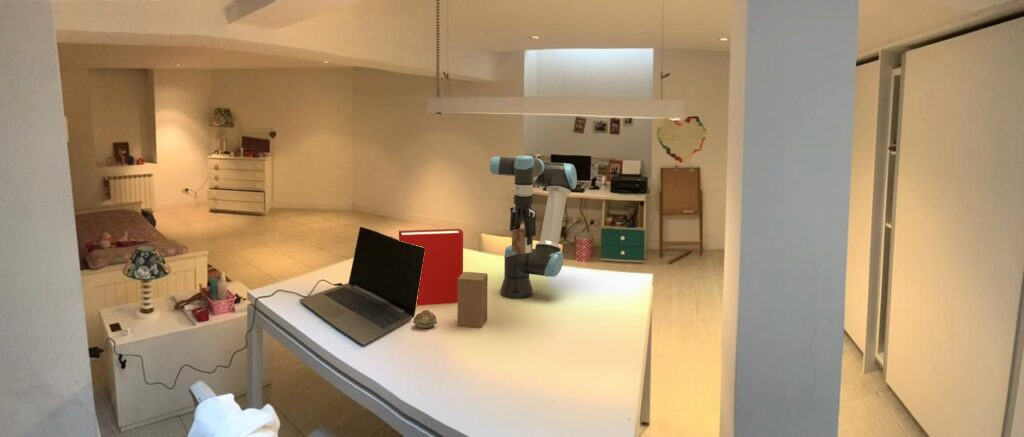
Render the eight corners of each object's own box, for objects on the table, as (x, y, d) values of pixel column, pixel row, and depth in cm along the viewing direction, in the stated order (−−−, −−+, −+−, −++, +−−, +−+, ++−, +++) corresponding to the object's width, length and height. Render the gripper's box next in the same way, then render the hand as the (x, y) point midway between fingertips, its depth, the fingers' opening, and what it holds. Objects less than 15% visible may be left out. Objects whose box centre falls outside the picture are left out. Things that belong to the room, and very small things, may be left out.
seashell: (437, 331, 246) (435, 322, 254) (438, 314, 244) (435, 306, 252) (414, 332, 244) (411, 323, 251) (414, 315, 242) (412, 307, 249)
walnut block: (511, 251, 255) (512, 229, 253) (522, 249, 259) (523, 228, 257) (521, 254, 250) (521, 232, 249) (532, 252, 254) (533, 230, 252)
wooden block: (481, 328, 248) (481, 280, 244) (457, 326, 250) (457, 278, 246) (487, 319, 258) (487, 273, 254) (463, 317, 260) (464, 271, 256)
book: (401, 306, 271) (400, 234, 265) (400, 300, 279) (398, 230, 273) (463, 302, 278) (463, 232, 272) (460, 296, 286) (460, 228, 279)
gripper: (501, 192, 255) (500, 247, 259) (532, 198, 240) (530, 257, 245) (515, 190, 259) (514, 244, 264) (546, 197, 245) (544, 254, 250)
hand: (522, 250), depth 254 cm, fingers closed on walnut block, 6 cm apart
